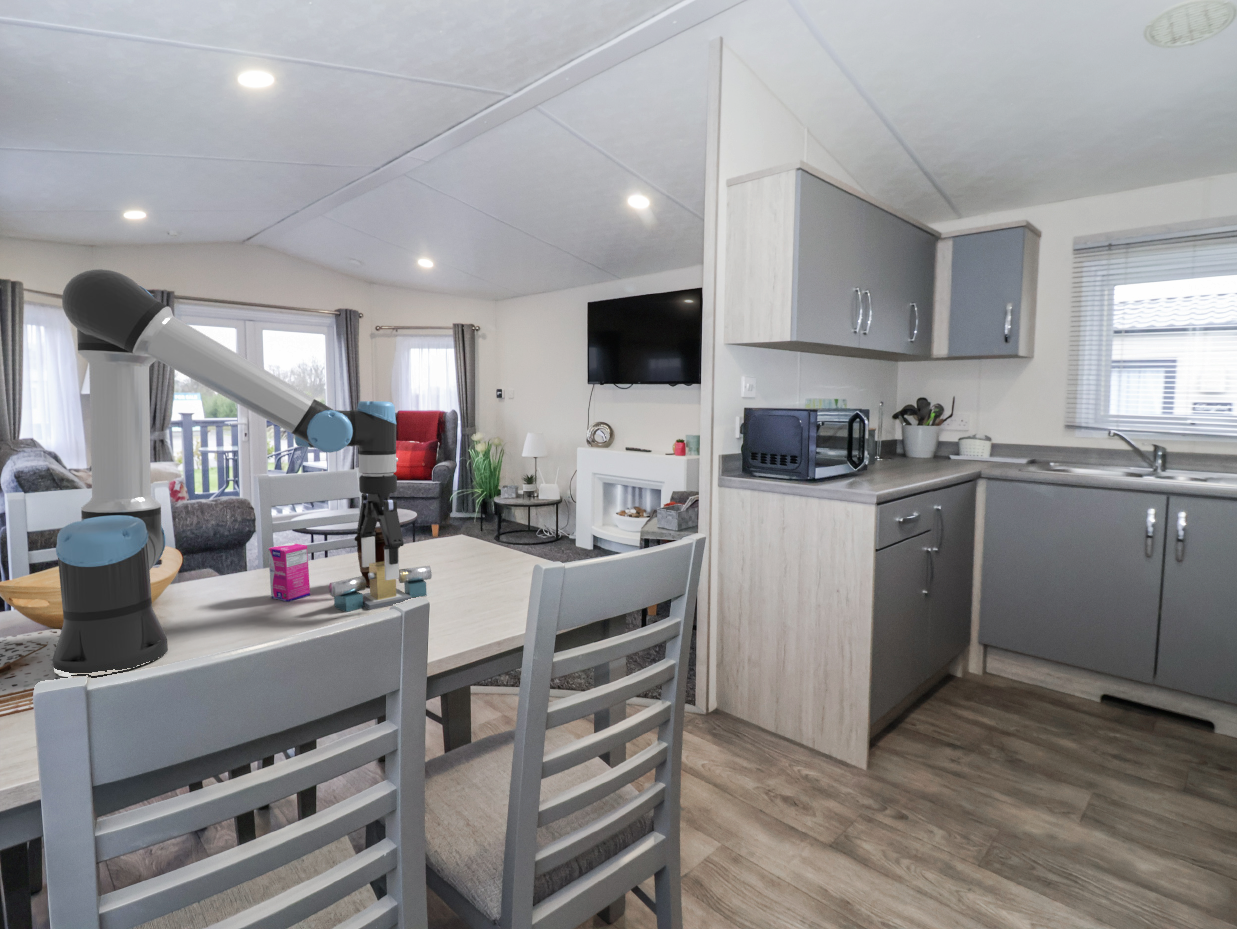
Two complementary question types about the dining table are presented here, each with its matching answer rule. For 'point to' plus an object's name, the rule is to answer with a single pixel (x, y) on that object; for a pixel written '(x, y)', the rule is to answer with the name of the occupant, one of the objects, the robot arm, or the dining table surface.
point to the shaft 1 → (348, 593)
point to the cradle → (384, 600)
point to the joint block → (380, 582)
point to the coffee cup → (378, 552)
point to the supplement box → (289, 572)
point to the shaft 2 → (415, 580)
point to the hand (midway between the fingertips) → (380, 572)
